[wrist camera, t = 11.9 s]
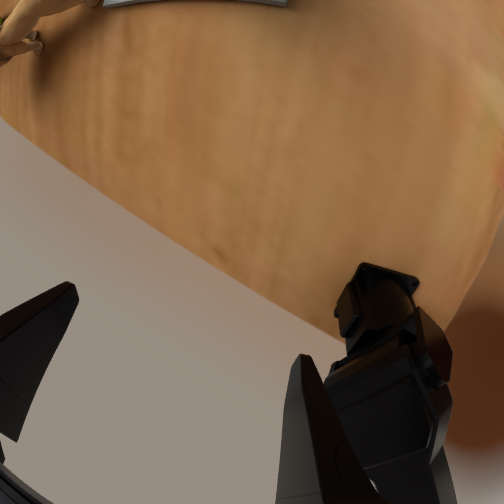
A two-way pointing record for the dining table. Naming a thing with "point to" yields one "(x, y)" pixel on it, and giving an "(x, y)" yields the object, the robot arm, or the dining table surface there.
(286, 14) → the dining table surface
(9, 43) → the lion figurine
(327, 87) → the dining table surface
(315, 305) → the dining table surface
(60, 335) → the robot arm
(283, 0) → the chassis board
